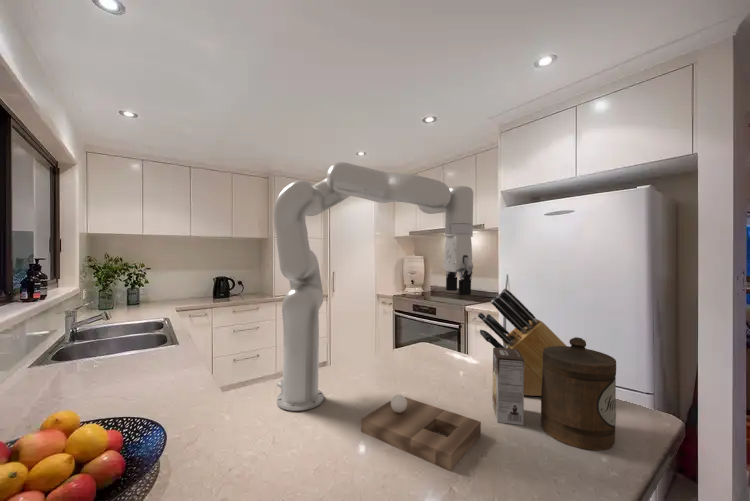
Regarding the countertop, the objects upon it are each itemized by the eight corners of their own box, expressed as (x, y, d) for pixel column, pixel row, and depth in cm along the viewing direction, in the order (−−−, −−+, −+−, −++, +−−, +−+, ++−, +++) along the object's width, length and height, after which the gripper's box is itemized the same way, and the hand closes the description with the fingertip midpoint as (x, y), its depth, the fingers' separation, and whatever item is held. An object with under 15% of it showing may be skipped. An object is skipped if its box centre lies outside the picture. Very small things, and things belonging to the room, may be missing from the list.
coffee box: (491, 405, 90) (492, 346, 90) (516, 408, 89) (517, 348, 89) (496, 422, 81) (497, 357, 81) (524, 425, 80) (525, 359, 80)
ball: (387, 412, 79) (387, 395, 79) (396, 406, 82) (396, 390, 82) (401, 417, 77) (401, 400, 77) (410, 411, 80) (410, 394, 80)
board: (361, 431, 76) (361, 418, 76) (399, 406, 89) (399, 395, 89) (450, 471, 63) (450, 455, 63) (480, 435, 76) (480, 421, 76)
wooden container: (625, 457, 68) (627, 350, 68) (545, 442, 73) (546, 342, 73) (604, 423, 82) (605, 333, 82) (537, 412, 87) (538, 328, 87)
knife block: (475, 379, 109) (477, 285, 109) (592, 387, 104) (593, 288, 104) (481, 394, 98) (483, 288, 98) (612, 403, 93) (614, 292, 93)
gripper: (436, 232, 101) (435, 289, 101) (457, 229, 84) (456, 296, 84) (459, 233, 102) (458, 289, 102) (485, 229, 85) (484, 296, 85)
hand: (457, 292), depth 93 cm, fingers open, 9 cm apart
